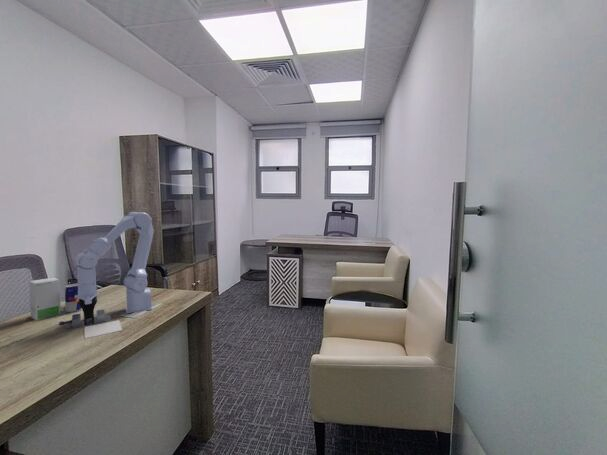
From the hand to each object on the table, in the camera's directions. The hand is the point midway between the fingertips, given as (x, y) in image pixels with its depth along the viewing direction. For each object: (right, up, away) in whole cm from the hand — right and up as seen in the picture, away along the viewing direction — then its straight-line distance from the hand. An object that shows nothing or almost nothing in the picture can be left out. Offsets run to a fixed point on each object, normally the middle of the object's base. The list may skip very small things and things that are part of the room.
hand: (88, 316), depth 111 cm
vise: (-1, -3, 0) cm, 3 cm away
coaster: (+10, -3, -6) cm, 12 cm away
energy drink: (-15, -2, +11) cm, 19 cm away
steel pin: (0, -2, 0) cm, 2 cm away
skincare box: (-23, -2, +6) cm, 24 cm away
